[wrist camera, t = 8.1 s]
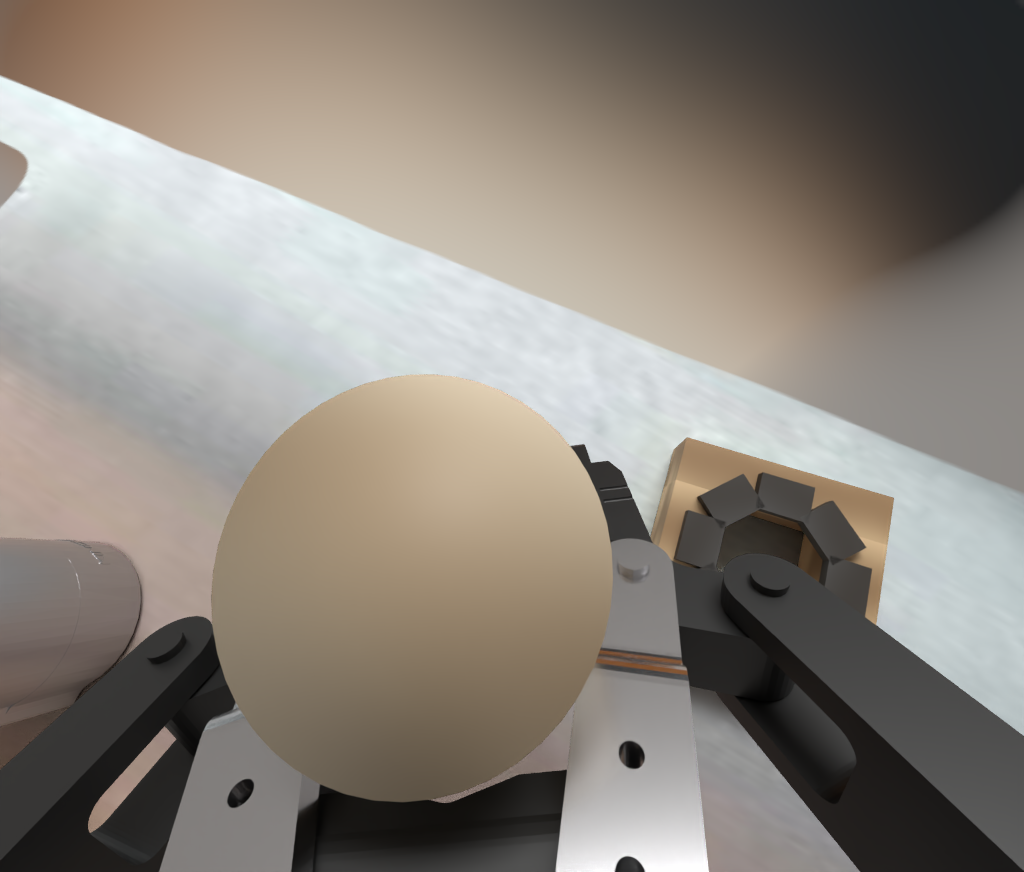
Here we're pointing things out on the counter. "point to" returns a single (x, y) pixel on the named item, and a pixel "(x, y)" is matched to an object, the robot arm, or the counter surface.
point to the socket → (775, 518)
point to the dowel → (412, 588)
